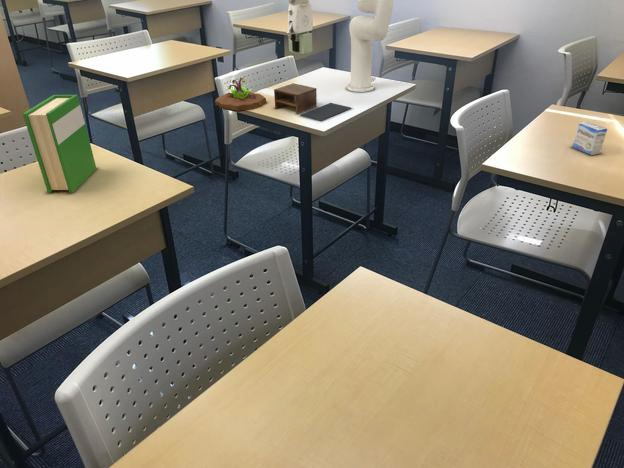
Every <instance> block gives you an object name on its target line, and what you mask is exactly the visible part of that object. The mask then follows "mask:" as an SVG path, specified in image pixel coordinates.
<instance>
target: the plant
mask: <svg viewBox="0 0 624 468" xmlns="http://www.w3.org/2000/svg"><path fill="white" fill-rule="evenodd" d="M231 83H232V84H229V85H228V86H227V89H228V90H229V91H230V92H226V93H224V94H223V95H221V96H218V97H216V99H215V100H214V104H215V106H216V107H219V108H220V109H223V110H230V111H235V112H240V111H248V110H252V109H256V108H259V107H261V106H262V105H264V104H267V98H266V96H264V95H262V94H261V93H255V92H252V89H253V88H249V89H247V87H246V86H242V83H243V84H244V83H246V79H245V78H244V77H240V78H239V79H238V81H237V80H236V79H233V80H231ZM232 87H234V89H233V88H232Z"/></svg>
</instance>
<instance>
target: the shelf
mask: <svg viewBox="0 0 624 468" xmlns="http://www.w3.org/2000/svg"><path fill="white" fill-rule="evenodd" d="M273 93H274V95H273V97H274V98H273V99H274V109H280V108H283V107H285V106H291V107H295V108H296V111H295V112H296V115H301V114H303V113H306V112H308V111H311V110H314V109H316V108H318V105H317V103H318V100H317V88H316V87H312V86H308V85H303V84H298V83H289V84H287V85H284V86H281V87H278V88H274V89H273Z"/></svg>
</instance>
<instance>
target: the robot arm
mask: <svg viewBox="0 0 624 468" xmlns="http://www.w3.org/2000/svg"><path fill="white" fill-rule="evenodd" d="M393 8H394V0H357V9H358V10H359V12H362V13H365V14H374V16H369V15H357V16H354V17H353V18H352V19H351V20H350V22H349V27H348V30H349V37H350V44H351V45H350V83H348V84H347V86H346V90H348V91H349V92H355V93H367V92H371V91H373V90H374V89H375V85H374V84H373V82H375V81H376V80H377V78H376V77H375V76H372V67H373V66H372V64H373V47H372V46H373V45H372V43H371V42H381V41H383V40H385V39H386V37H387V35H388V31H389V26H390V22H391V18H392V13H393ZM313 20H314V19H313V10H312V6H311V3H310V0H288V9H287V29H286V32H285V35H287V37H288V39H289V38H290V39H291V41H292V51H294V52H293V53H295V52H299V41H298V34H300V33H304V32H308V33H312V32H313V30H314V21H313ZM294 34H296V35H295V36H294Z"/></svg>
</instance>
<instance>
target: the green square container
mask: <svg viewBox="0 0 624 468" xmlns="http://www.w3.org/2000/svg"><path fill="white" fill-rule="evenodd" d="M295 35H296V34H294V36H295ZM298 41H299V52H294V51H292V41H291V39H290V38H289V37H288V52H290V53H296V54H303V55H306V54H309V53H313V33H312V32H311V33H308V32H304V33H300V34H298Z"/></svg>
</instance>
